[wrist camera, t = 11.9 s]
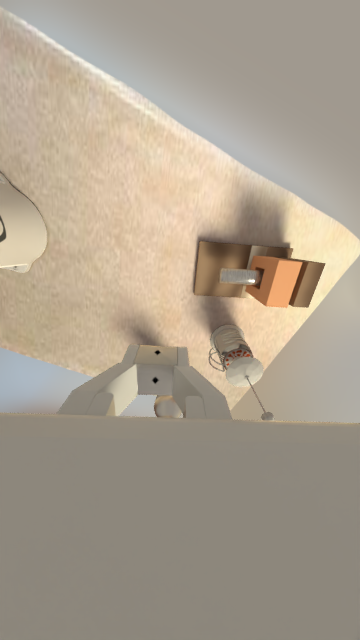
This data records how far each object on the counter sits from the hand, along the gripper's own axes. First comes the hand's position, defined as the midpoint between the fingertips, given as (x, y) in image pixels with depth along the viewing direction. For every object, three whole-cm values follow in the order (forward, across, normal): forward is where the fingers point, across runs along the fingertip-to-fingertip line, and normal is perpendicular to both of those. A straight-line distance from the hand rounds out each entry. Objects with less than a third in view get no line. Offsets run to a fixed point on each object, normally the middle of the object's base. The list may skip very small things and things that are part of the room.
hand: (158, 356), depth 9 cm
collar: (+33, -20, 0) cm, 38 cm away
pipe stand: (+35, -16, 0) cm, 39 cm away
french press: (+35, -16, +19) cm, 43 cm away
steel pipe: (+30, -17, 0) cm, 34 cm away
